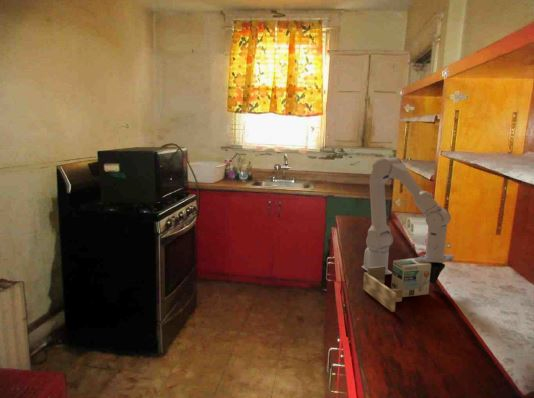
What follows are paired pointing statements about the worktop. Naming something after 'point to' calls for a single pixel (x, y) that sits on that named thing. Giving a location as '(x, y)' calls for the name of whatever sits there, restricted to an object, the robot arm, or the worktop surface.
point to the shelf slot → (381, 287)
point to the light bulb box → (411, 277)
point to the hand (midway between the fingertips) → (432, 282)
